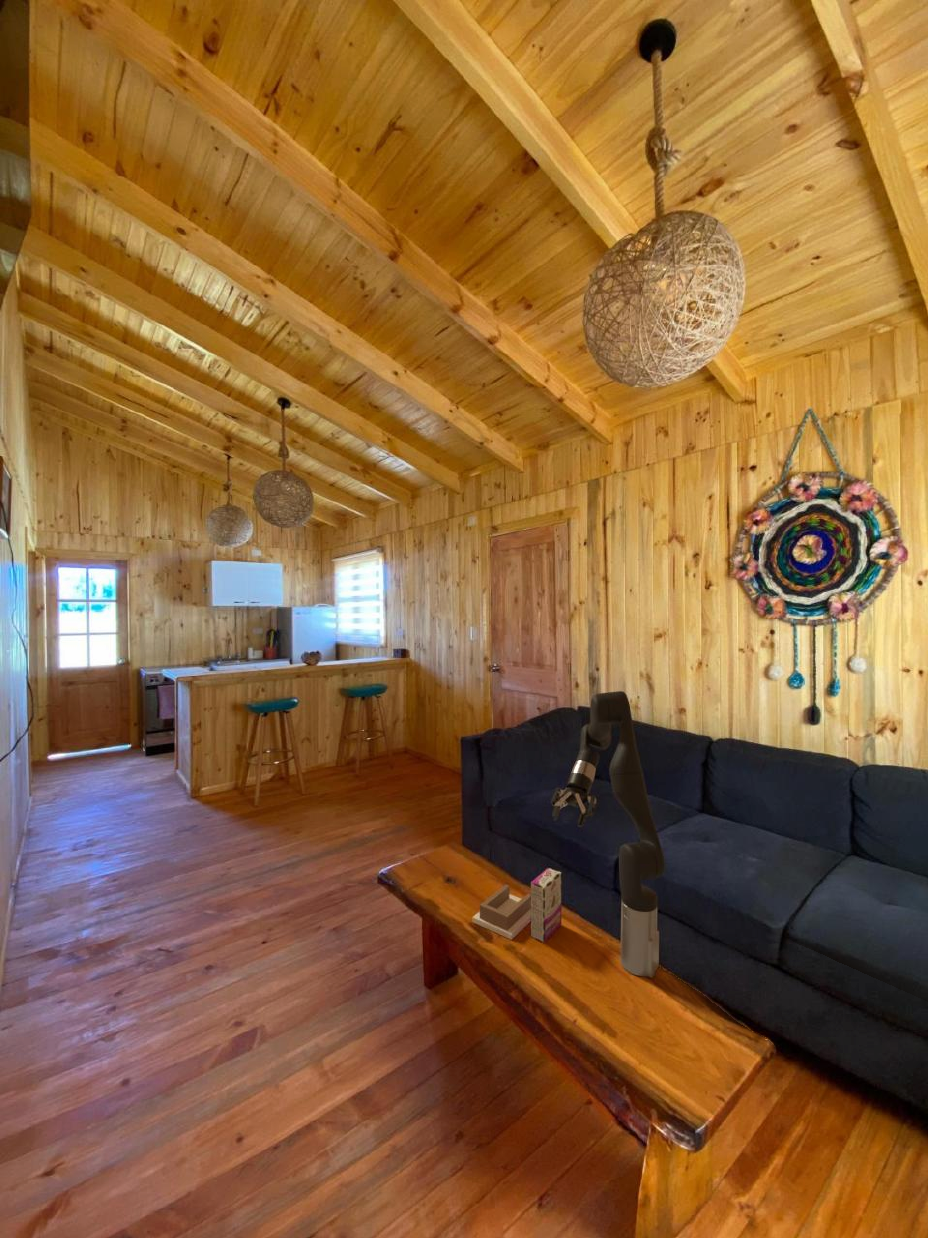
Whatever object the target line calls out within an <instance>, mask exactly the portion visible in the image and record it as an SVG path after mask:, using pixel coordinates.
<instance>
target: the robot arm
mask: <svg viewBox="0 0 928 1238" xmlns="http://www.w3.org/2000/svg"><path fill="white" fill-rule="evenodd" d="M589 711H590V713H589V715H590V716H589V717H590V718H589V719H590V722H589V723H587V724H585V725H583V727H581V731H580V745H579V746H580V747H579V752H578V755H577V758H576V761H575V763H574V765H573V768H572V769H571V770H572V771H571V773H570V775H569V778H568V782H567V783H566V787H565V789H564V790H563V789H560V786H557V787H556V788H555V790H554V793H553V794H552V797H551V798H550V799H551V800H550V803H551V805H552V807H553V809H552V810H553V811H552V813H551V817H552V818H553V820H554V821H557V820H558V817H559V814H560V812H561V809H562V808H564V807H566V806H569V807H574V808H577V809H578V808H580V811H581V813H580V814H579V816H578V820H577V822H576V823H577V824H576V825H577V827H579V828H582V827H583V826H584V824H585V822H586V819H587V817H590V818H591V817H593V816H594V814H595V810H596V805H597V802H598V801H597V798H596V796H595V795H591V796H590V795H589V794H590V791H591V788H592V785H593V783H594V781H595V776H596V770H597V767H598V764H599V762H600V754H599V752H598V751H596V750H595V749H594V748H596V749H598V750H602V751H603V750H606V749H608V748H609V746H610V745H611V742H612V741H611V740H612V735H611V734H612V733H611V730H612V724H617V723H619V724H620V737H619V740H618V743H617V746H616V749H615V752H614V754H613V756H612V758H611V761H610V763H609V766H608V769H609V770H608V773H609V777H610V782H611V783H610V784H611V787H612V792H613V795H614V797H615V799H616V800H617V801H618V802H619V804H620V805H621V807H622V808H623V809H624V810H625V811H626V813H627V814H628V816H630V817H631V820H632V822H633V823H634V825H635V827H636V830H637V834H638V838H639V841H635V842H628V843H623V844H622V845H621V847H620V848H619V851H618V852H619V853H618V866H619V867H618V868H619V888H620V894H621V912H620V913H621V914H620V916H621V917H620V954H619V955H620V964H621V966H622V967H623V969H624V970H626V971H627V972H628V973H630V974H632V975H634V976H635V975H636V976H638V977H647V978H652V979H653V977H654V975H655V974H656V972H657V969H658V968H659V962H660V960H659V957H660V956H659V955H660V953H659V952H660V931H659V930H658V896H657V893H656V891H654V890H653V889H652V888H650V887H649V886H647V885H645V884H642V881H644V880H645V881H646V880H652V879H657V878H660V877H663V875H664V874H665V870H666V861H665V856H664V852H663V848H662V845H661V841H660V838H659V835H658V831H657V828H656V825H655V822H654V819H653V818H654V817H653V814H652V809H651V805H650V801H649V797H648V792H647V785H646V781H645V776H644V772H643V767H642V764H641V760H640V756H639V755H640V754H639V753H638V752H639V751H638V748H637V742H636V738H635V737H636V736H635V730H634V725H633V723H634V722H633V717H632V710H631V705H630V701H629V697H628V695H627V694H626V692H625V691H623V690H622V691H621V690H619V691H618V690H617V691H609V692H601V693H596V694H594V695H593V696H592V697H591V700H590V708H589ZM592 747H593V748H592ZM586 802H588V803H589V804H588V805H589V806H588V807H587V809H586V807H585V803H586Z"/></svg>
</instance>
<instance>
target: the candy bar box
mask: <svg viewBox="0 0 928 1238" xmlns="http://www.w3.org/2000/svg"><path fill="white" fill-rule="evenodd" d="M530 894H531V921H530V937H531V938H533V939H535V940H537V941H540V942H542V943H546V942H547V940H549V938H551V936H552V935H553V934H554V933H555V932H556V930H558V929H559V928H560V927H561V926H562V872H561V871H559V870H555V869H552V868H550V867H548V868H546V869H545V870H544V871H542V873H540V874H539V875H538V876H537V877H536V878H534V879H533V880H532V881H531V882H530Z"/></svg>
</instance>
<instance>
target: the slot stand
mask: <svg viewBox="0 0 928 1238" xmlns="http://www.w3.org/2000/svg"><path fill="white" fill-rule="evenodd" d="M510 891H511V890H510V885H508V884H504V885H503V886H502V887H501V888H499V889H498V890H497V891H496V892H494V893H493V894H492V895H491V896H489V897H488V898H486V900H484V901H483V902H482V903H481V904H479V911H478V912H477V913H476V914H475V915H473V916H471V917H472V920H471V921H472V923H473V924H476V925H477V926H480V927H482V928H484V929H487V930H489V931H491V932H493V933H496V934H498V935H500V936H502V937H504V938H507V939H509V940H511V941H512V940H513V939H514V938H515V937H516V936H517V935H518V934H519V933H520V932H521V931H522V930H524V928H525V927H526V926H527V925H529V924H530V923H531V893H526V894H525V895H524V896H523V897H522V898H521V897H518V896H516V895H513V894H511V893H510Z"/></svg>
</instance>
